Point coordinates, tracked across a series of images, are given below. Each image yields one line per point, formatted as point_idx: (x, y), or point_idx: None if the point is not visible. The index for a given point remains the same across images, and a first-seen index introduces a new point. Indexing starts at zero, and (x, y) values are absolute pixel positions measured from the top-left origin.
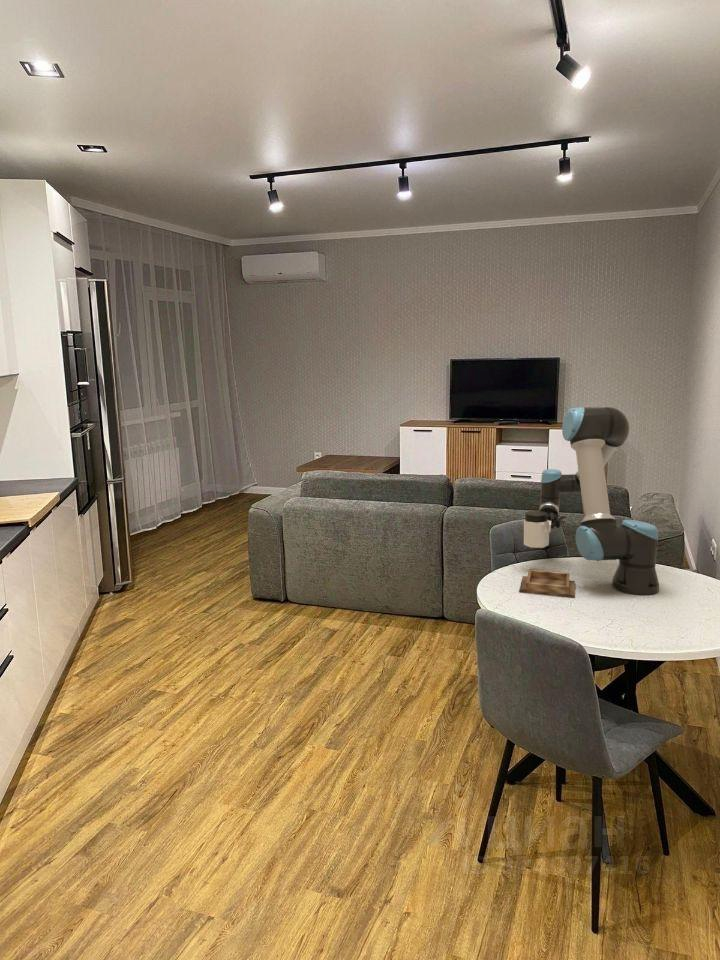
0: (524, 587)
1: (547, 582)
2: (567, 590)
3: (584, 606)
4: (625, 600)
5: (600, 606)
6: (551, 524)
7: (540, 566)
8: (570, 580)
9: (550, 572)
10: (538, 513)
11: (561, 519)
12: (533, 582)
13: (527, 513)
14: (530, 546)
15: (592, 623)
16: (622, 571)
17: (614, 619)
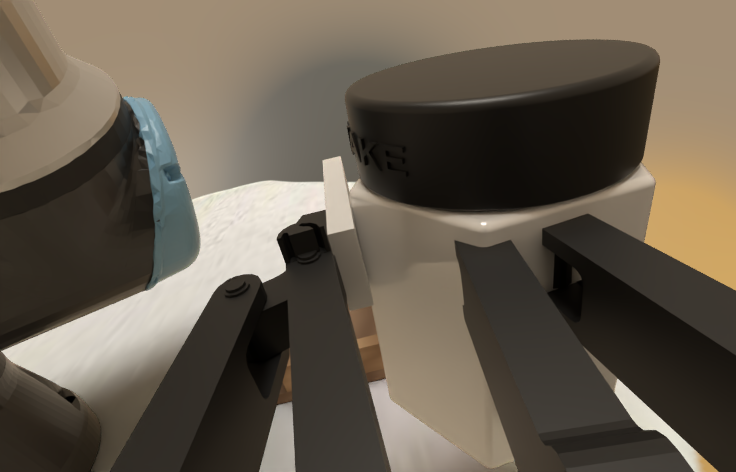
0: None
1: (373, 326)
2: None
3: (260, 263)
4: (124, 344)
5: (218, 279)
6: (325, 212)
7: None
8: (281, 393)
9: (363, 337)
10: (454, 68)
11: (145, 421)
12: None
13: (574, 43)
14: None
15: (257, 218)
16: (30, 377)
17: (207, 245)
